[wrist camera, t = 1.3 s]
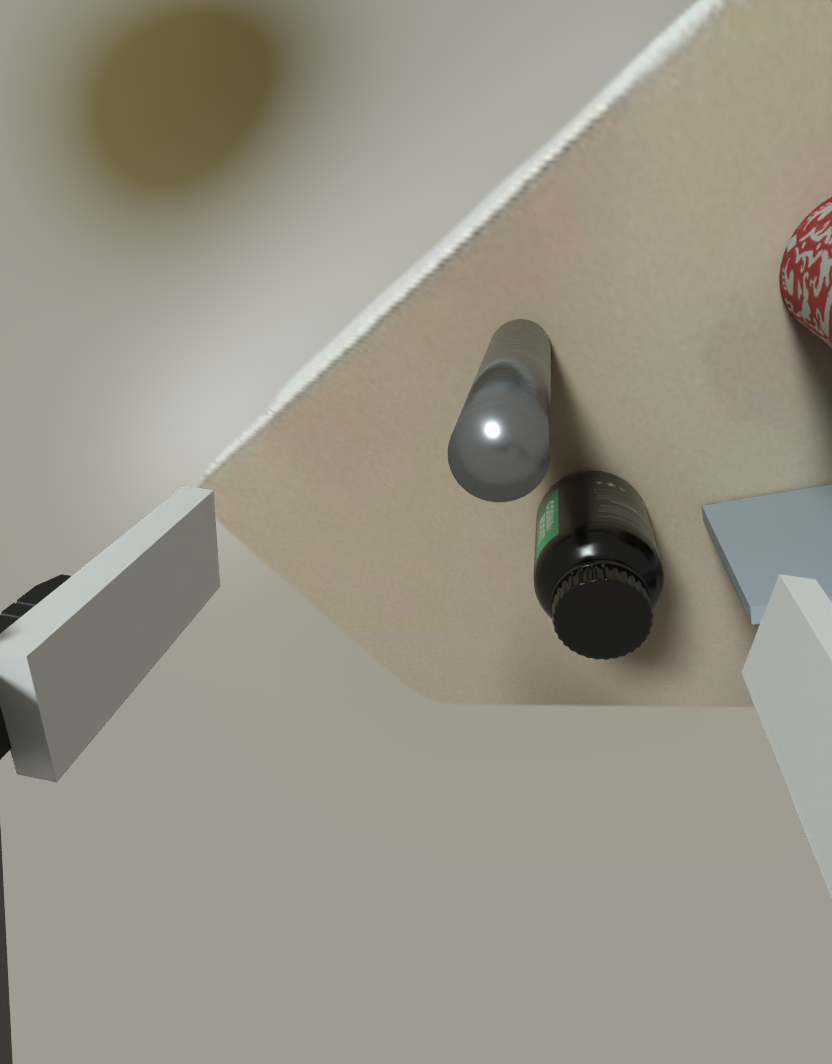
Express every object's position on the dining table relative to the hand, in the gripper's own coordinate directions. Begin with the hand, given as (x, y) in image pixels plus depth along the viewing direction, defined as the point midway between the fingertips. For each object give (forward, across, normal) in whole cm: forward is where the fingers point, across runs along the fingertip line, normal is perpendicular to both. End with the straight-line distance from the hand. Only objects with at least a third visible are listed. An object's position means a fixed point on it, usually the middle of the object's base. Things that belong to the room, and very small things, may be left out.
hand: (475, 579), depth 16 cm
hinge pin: (+27, 0, 0) cm, 27 cm away
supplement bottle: (+27, -6, +10) cm, 30 cm away
